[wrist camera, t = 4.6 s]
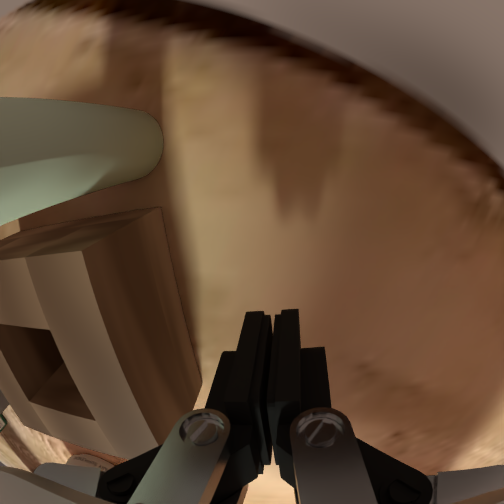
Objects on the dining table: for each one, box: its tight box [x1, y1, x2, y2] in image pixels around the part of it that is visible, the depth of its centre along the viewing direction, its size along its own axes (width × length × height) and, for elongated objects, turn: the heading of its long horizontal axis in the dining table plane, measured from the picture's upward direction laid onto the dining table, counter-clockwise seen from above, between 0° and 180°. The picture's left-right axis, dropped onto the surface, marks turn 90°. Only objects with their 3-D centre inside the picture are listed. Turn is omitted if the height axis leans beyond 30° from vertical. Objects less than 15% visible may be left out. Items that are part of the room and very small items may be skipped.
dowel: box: [0, 97, 163, 226], centre depth 8 cm, size 3×3×10 cm
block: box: [0, 207, 202, 460], centre depth 13 cm, size 10×10×6 cm
